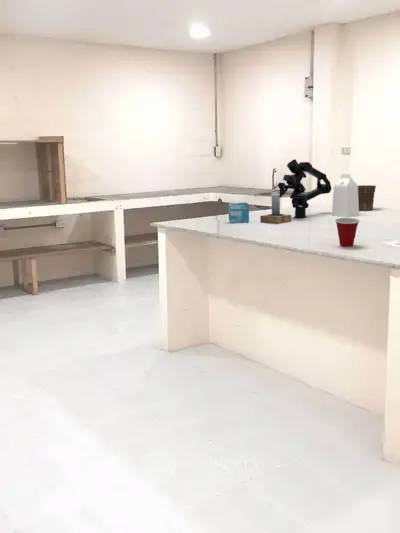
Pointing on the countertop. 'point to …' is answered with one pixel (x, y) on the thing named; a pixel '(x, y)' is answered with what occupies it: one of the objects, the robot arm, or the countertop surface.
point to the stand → (275, 218)
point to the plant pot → (366, 197)
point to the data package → (239, 212)
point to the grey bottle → (275, 203)
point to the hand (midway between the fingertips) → (284, 198)
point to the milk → (345, 197)
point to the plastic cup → (346, 230)
